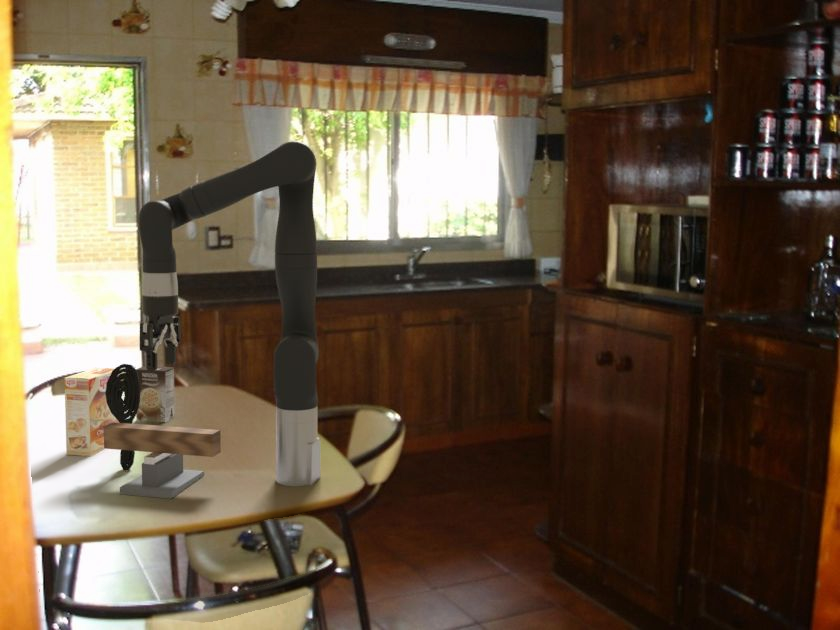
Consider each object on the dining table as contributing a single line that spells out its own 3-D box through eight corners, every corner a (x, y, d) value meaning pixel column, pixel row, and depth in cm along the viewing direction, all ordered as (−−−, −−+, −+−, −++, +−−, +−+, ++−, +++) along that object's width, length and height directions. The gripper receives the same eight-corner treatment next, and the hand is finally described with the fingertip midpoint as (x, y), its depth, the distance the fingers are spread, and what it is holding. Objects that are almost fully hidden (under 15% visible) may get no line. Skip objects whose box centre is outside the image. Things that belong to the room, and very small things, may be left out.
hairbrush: (147, 468, 221) (145, 363, 218) (140, 472, 217) (138, 366, 214) (114, 466, 222) (111, 362, 219) (107, 470, 218) (104, 365, 215)
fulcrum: (204, 477, 214) (203, 443, 213) (170, 498, 199) (170, 461, 198) (156, 473, 217) (155, 439, 216) (119, 493, 201) (118, 457, 201)
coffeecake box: (91, 456, 230) (89, 378, 228) (65, 455, 231) (62, 377, 229) (121, 441, 245) (119, 368, 243) (96, 440, 246) (94, 367, 244)
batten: (220, 452, 206) (220, 430, 205) (212, 457, 202) (212, 434, 202) (113, 444, 212) (113, 422, 211) (104, 448, 208) (103, 426, 207)
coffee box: (135, 425, 262) (133, 369, 261) (145, 420, 269) (144, 365, 267) (165, 427, 261) (164, 370, 259) (175, 422, 267) (174, 366, 265)
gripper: (160, 296, 196) (161, 373, 197) (190, 290, 209) (192, 362, 211) (127, 295, 197) (129, 371, 199) (160, 289, 211) (161, 360, 213)
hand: (161, 366), depth 205 cm, fingers open, 8 cm apart
